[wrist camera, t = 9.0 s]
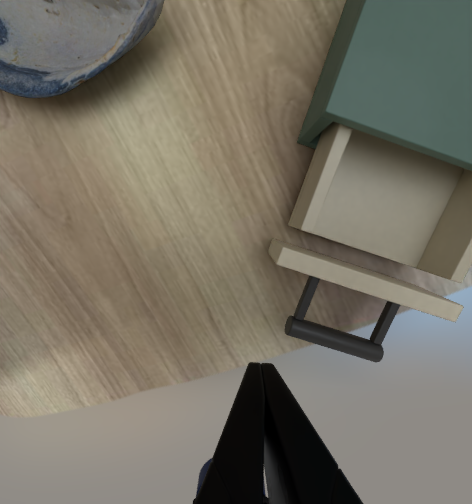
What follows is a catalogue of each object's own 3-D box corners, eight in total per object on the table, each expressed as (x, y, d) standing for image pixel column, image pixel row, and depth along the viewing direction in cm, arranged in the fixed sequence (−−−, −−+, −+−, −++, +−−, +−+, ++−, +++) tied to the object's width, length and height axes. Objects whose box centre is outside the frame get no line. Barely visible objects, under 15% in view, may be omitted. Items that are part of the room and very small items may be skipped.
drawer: (384, 349, 21) (422, 386, 16) (248, 306, 20) (250, 333, 16) (505, 102, 17) (593, 67, 13) (343, 41, 16) (380, -18, 12)
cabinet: (455, 198, 19) (555, 194, 13) (296, 142, 18) (324, 111, 12) (571, -40, 16) (770, -187, 10) (387, -117, 15) (482, -323, 9)
